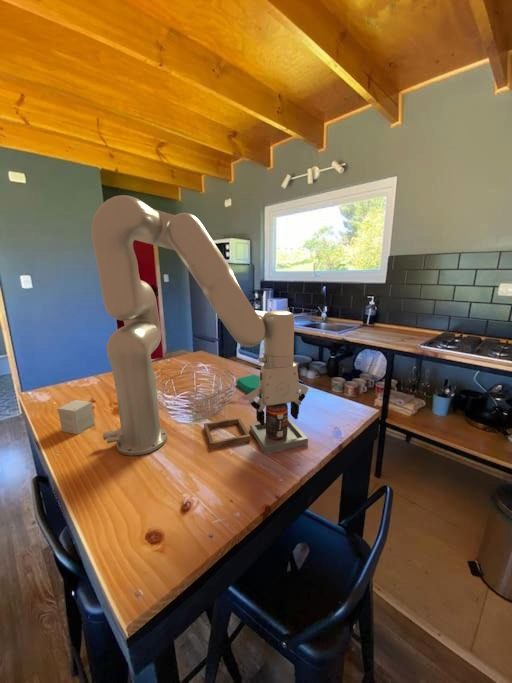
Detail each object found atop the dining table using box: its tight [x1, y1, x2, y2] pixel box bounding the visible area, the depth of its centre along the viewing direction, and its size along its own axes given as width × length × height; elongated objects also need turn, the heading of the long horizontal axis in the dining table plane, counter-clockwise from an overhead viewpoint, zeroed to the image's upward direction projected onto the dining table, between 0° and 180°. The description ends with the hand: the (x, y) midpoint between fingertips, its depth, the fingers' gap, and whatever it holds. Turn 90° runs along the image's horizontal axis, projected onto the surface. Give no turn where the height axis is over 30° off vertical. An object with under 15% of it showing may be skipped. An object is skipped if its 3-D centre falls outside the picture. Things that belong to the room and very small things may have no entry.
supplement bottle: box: [265, 403, 289, 440], centre depth 78 cm, size 6×6×11 cm
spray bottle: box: [236, 374, 260, 394], centre depth 108 cm, size 3×11×24 cm
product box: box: [57, 399, 95, 435], centre depth 84 cm, size 6×6×7 cm
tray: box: [249, 416, 309, 455], centre depth 79 cm, size 12×12×2 cm
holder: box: [203, 417, 251, 450], centre depth 81 cm, size 11×11×2 cm
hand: (277, 419), depth 78 cm, fingers open, 9 cm apart
